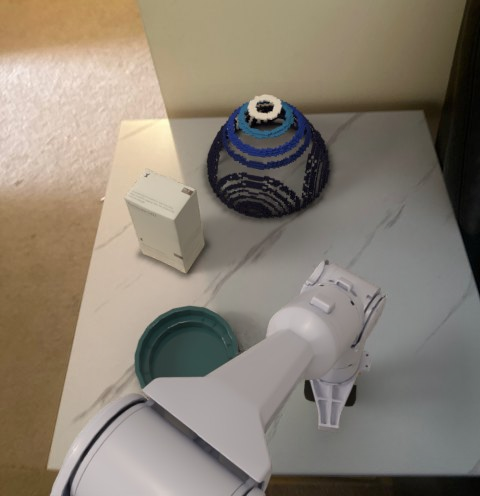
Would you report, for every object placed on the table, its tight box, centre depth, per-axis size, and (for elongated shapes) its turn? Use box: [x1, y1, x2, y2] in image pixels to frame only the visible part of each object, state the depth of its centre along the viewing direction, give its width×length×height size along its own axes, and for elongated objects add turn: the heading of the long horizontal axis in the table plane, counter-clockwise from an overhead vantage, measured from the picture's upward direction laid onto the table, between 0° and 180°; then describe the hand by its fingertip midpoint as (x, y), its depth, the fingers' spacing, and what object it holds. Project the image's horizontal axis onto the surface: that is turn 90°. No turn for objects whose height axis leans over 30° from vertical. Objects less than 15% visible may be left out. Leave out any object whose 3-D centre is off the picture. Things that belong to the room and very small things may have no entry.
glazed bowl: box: [133, 305, 240, 400], centre depth 73 cm, size 13×13×4 cm
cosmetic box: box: [123, 168, 206, 274], centre depth 80 cm, size 8×6×15 cm
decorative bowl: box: [206, 93, 331, 219], centre depth 88 cm, size 20×20×14 cm
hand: (328, 382), depth 68 cm, fingers closed on toy figure, 3 cm apart
